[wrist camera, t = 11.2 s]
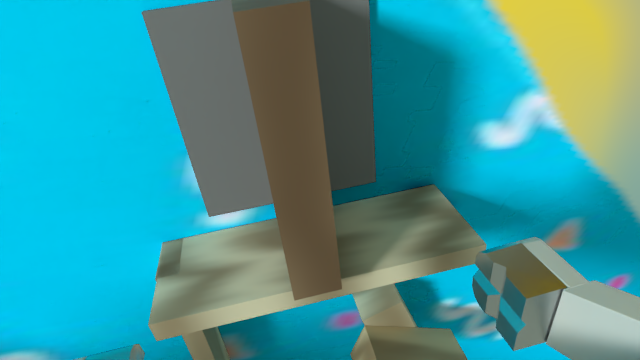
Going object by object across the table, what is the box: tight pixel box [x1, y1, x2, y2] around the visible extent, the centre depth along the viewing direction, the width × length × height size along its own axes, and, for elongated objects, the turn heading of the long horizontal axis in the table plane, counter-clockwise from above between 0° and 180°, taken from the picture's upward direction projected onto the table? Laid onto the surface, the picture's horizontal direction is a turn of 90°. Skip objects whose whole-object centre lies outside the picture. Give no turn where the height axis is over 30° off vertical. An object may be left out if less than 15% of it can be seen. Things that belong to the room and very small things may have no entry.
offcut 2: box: [351, 326, 467, 360], centre depth 27 cm, size 3×7×3 cm, turn 73°
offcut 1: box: [352, 283, 418, 328], centre depth 30 cm, size 3×8×3 cm, turn 26°
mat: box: [142, 0, 376, 217], centre depth 20 cm, size 10×11×1 cm
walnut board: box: [231, 0, 342, 301], centre depth 17 cm, size 2×12×7 cm, turn 7°
